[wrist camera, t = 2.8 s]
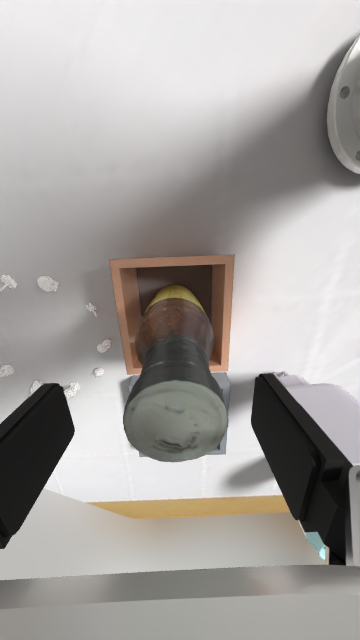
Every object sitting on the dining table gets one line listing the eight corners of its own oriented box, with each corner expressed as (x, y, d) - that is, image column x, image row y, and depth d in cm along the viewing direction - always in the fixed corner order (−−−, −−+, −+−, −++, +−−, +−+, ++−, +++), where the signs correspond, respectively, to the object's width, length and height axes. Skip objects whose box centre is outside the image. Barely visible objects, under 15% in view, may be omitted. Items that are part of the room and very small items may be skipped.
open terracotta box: (218, 255, 23) (234, 254, 17) (216, 343, 28) (227, 371, 21) (128, 258, 24) (109, 259, 17) (139, 346, 28) (127, 374, 21)
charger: (306, 382, 30) (419, 495, 16) (249, 388, 30) (311, 503, 16) (309, 357, 28) (438, 457, 14) (250, 363, 29) (318, 467, 15)
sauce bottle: (174, 334, 27) (163, 509, 8) (143, 303, 26) (45, 435, 7) (208, 304, 26) (287, 437, 7) (178, 271, 24) (174, 323, 5)
